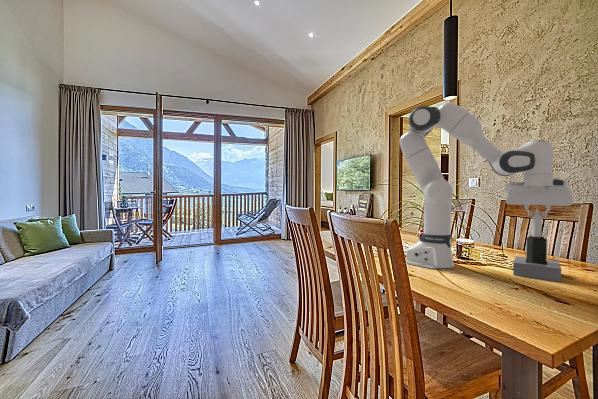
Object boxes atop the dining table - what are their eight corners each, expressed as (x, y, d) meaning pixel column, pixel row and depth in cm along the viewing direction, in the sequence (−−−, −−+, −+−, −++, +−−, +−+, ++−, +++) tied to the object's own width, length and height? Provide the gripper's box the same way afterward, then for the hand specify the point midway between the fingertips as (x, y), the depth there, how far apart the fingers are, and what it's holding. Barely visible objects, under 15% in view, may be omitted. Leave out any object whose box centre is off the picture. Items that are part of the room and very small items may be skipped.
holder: (513, 274, 113) (513, 262, 113) (515, 267, 124) (515, 256, 124) (560, 282, 104) (561, 268, 104) (558, 273, 115) (559, 261, 115)
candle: (539, 268, 116) (540, 207, 115) (547, 271, 111) (548, 208, 110) (524, 267, 117) (526, 207, 116) (532, 271, 112) (534, 208, 111)
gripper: (505, 182, 117) (504, 215, 118) (573, 181, 104) (572, 218, 104) (506, 182, 122) (505, 214, 122) (572, 181, 109) (571, 217, 109)
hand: (537, 216), depth 113 cm, fingers closed on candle, 3 cm apart
